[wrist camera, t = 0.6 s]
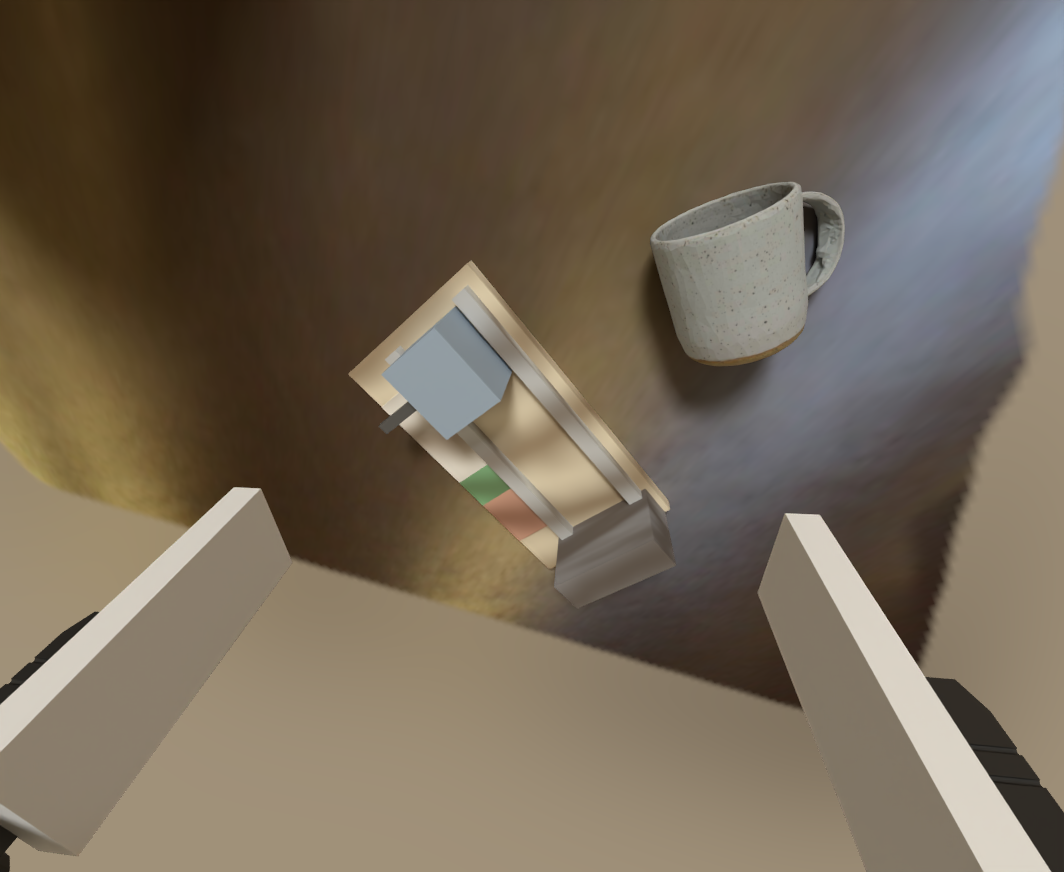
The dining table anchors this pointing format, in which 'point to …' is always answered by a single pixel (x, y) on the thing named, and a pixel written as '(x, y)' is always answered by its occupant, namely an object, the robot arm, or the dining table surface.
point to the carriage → (447, 376)
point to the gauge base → (537, 454)
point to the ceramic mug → (745, 271)
